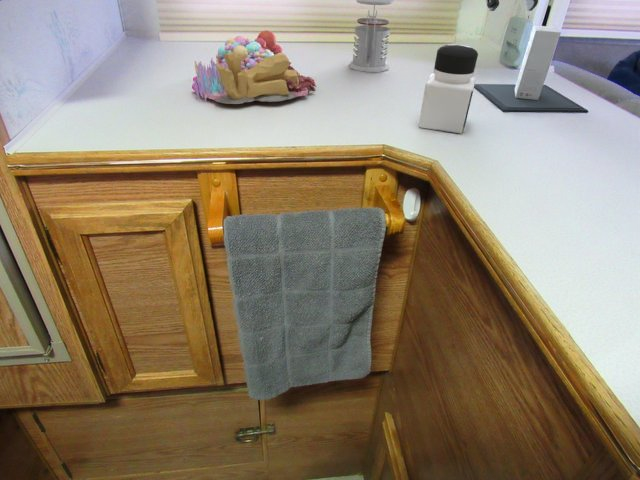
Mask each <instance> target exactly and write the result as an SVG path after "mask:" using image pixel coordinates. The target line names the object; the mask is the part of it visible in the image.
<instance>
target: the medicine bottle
mask: <svg viewBox="0 0 640 480" xmlns="http://www.w3.org/2000/svg"><path fill="white" fill-rule="evenodd" d="M478 56H479V53H478V50H476V49H475V48H473V47H471V46H468V45H464V44H445V45H442V46H440V47H439V48H437V50H436V56H435V61H434V67H433V72H432V73H431V74H430V76H429V78H428V80H427V81H426V82H425V85H424V86H425V87H424V91H423V96H422V97H423V98H422V102H421V109H420V115H419V121H418V127H419V128H421V129H428V130H435V131H441V132H447V133H453V134H461V135H462V134H463V133H464V130H465V127H466V122H467V119H468V115H469V110H470V108H471V107H470V106H471V103H472V98H473V93H474V90H475V88H474V86H475V84H476V81H477V78H476V77H475V76H474V74H475V69H476V64H477V61H478Z"/></svg>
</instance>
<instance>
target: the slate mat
mask: <svg viewBox="0 0 640 480" xmlns="http://www.w3.org/2000/svg"><path fill="white" fill-rule="evenodd" d="M515 86H516V83H514V84H513V83H512V84H510V83H509V84H505V83H504V84H502V83H475V86H474V90H476V91H477V92H479V93H480V94H481V95H482V96H483V97H484V98H486V99H487V100H488V101H490V103H492V105H494V106H496V107H497V108H498V109H499V110H500V111H501V112H503V113H585V114H586V113H588V112H589V110H588V109H586V108H585V107H583V106H582V105H580V104H578V103H577V102H575V101H573V100H572V99H570V98H568V97H567V96H565V95H563V94H562V93H560V92H558V91H557V90H556V89H554V88H552V87H550V86H548V85H547V84H543V87H542V90H541V93H540V96H539V99H538V100H530V99H521V98H516V96H515Z"/></svg>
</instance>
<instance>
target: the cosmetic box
mask: <svg viewBox="0 0 640 480" xmlns="http://www.w3.org/2000/svg"><path fill="white" fill-rule="evenodd" d="M561 34H562V32H561V31H560V30H559V28H558V27H557V26H546V25H537V24H536V25H533V27H532V31H531V33H530V37H529V41H528V43H527V47H526V49H525V50H526V51H525V53H524V56H523V60H522V63H521V65H520V66H521V67H520V70H519V73H518V77H517V79H516V83H515V84H516V86H515V96H516V98H521V99H530V100H538V99H539V96H540V93H541V90H542V87H543V85H545V81H546V78H547V75H548V72H549V70H550V66H551V63H552V61H553V58H554V54H555V51H556V49H557V45H558V43H559V40H560V38H561V37H560V36H561Z"/></svg>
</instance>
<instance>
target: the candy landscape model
mask: <svg viewBox="0 0 640 480" xmlns="http://www.w3.org/2000/svg"><path fill="white" fill-rule="evenodd" d="M215 58H216V60H215V61H216V62H215V61H214V60H213V58H211V59H210V63H208V64H207V66H206V64H205V63H204V64H203V63H202V60H200V61H199V62H198V63H197V61H196V60H194V70H195V74H196V76H193V78H192V84H191V90H193V92H194V94H196V98H197V99H200V97H201V98H202V99H204V102H207V99H209V100H213V101H215V102H217V103H221V104H227V105H228V104H231V105H240V104H245V103H251V102H255V101H257V102H268V103H271V102H272V103H273V102H283V101H286V100H292V99H294V98H298V97H303V96H308V95H309V92H316V89H315V87H317V85H316V81H315V79H314V78H312V76H311V77H310V76H304V75H303V74H302V75H301V73H299V72H298V70H297V69H295V68H294V67H293V66H292V65H291V64H292V62H291V61H290V59H289V58H288V56H287V55H286V54H285V53H284V51H283V47H282V46H281V45H280V44H278V43H277V37H276V35H275V34H274V32H272V31H270V30H265V29H264V30H262V31H260V33H259V34H258V35H257V37H256V38H255V39H254V40H253V41H251V39H249V38H247V37H244V36H241V35H238V36H235V37H234V38H232V37H231V38H228V39H227V40H226V41H225V42H224V45H221V46H220V47H219V48H218V50H217V53H216V55H215Z"/></svg>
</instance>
